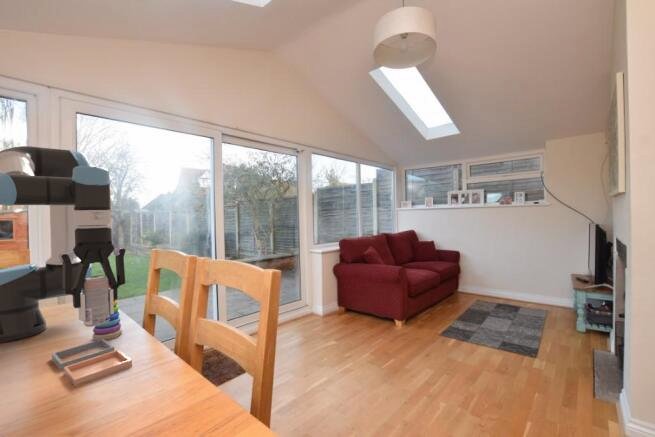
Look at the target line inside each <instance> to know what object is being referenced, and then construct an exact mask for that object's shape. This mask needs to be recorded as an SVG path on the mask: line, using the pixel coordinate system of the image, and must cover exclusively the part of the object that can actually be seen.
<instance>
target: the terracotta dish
mask: <svg viewBox="0 0 655 437" xmlns="http://www.w3.org/2000/svg"><path fill="white" fill-rule="evenodd" d="M131 367H133V360H132V358H131V357H129V356H128V355H126V354H125V353H124V352H122V351H121V350H120V349H116V350H115V349H114V351H112V352H109V353H106V354H103V355H100V356H97V357H94V358H91V359H88V360H85V361H81V362H78V363H75V364H72V365H69V366H66V367H64V370H63V375H64V376H65V378H66V379H67V380H68V381H69V383H70V384H71V385H72V386H73V387H74V388H77V387H80V386H83V385H86V384H88V383H91V382H93V381H96V380H99V379H101V378H104V377H108V376H110V375H114V374H115V373H118V372H120V371H123V370H125V369H128V368H131Z"/></svg>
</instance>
